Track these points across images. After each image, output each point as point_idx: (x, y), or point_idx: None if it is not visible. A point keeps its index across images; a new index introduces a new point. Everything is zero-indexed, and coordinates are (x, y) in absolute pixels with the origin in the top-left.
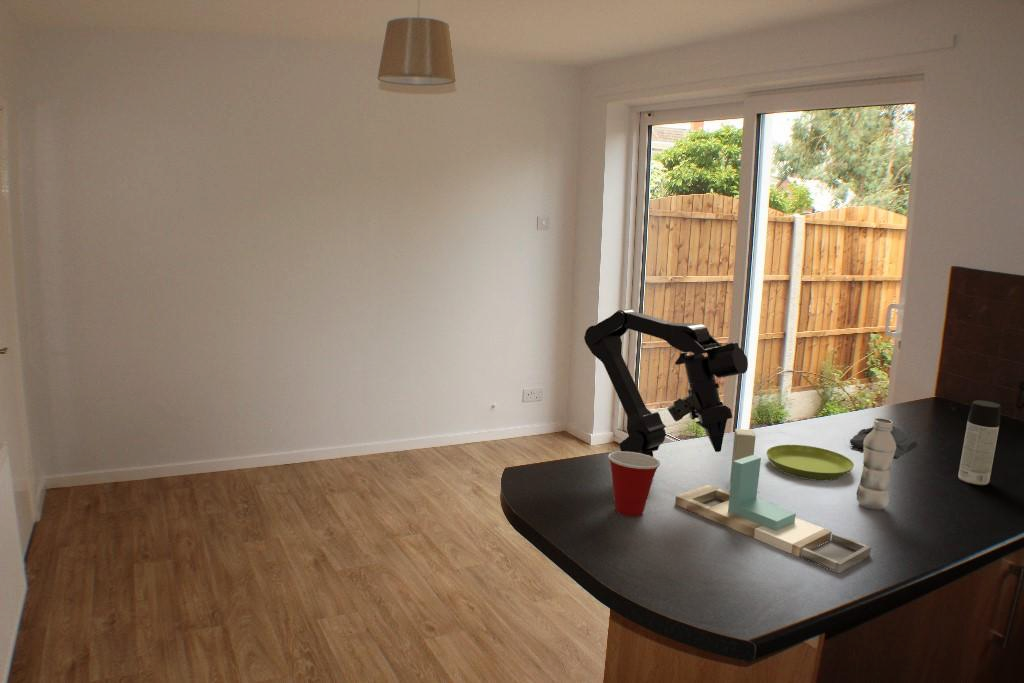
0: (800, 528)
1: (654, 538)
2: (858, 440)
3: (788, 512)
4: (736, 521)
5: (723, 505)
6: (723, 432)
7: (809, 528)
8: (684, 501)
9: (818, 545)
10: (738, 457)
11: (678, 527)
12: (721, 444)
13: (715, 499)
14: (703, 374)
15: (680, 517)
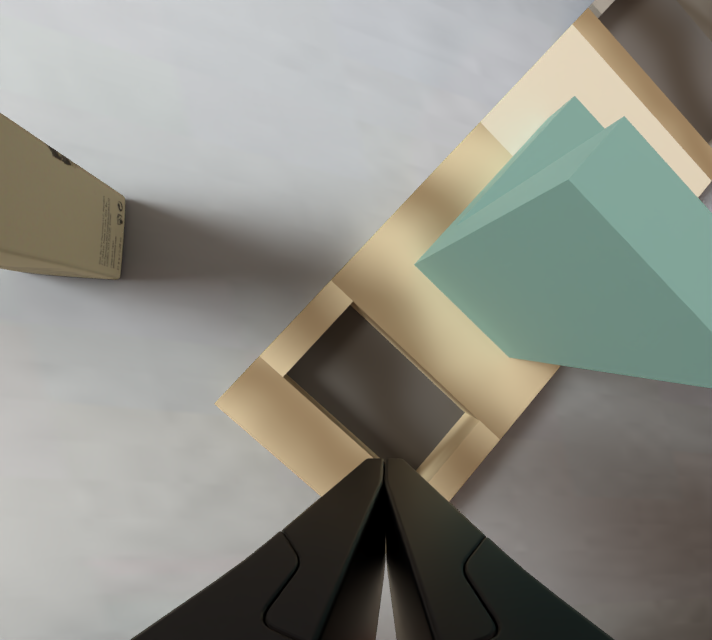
0: (591, 113)
1: (672, 603)
2: None
3: (576, 125)
4: None
5: (452, 367)
6: (526, 586)
7: (583, 80)
8: None
9: None
10: (4, 224)
11: (580, 527)
12: (431, 488)
13: (304, 375)
14: None
15: (500, 520)
